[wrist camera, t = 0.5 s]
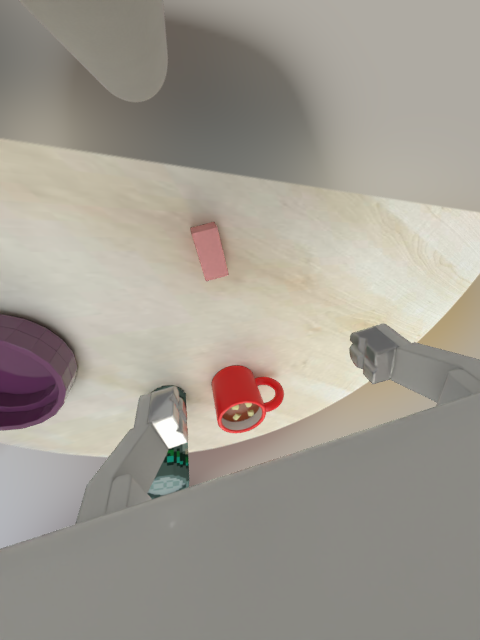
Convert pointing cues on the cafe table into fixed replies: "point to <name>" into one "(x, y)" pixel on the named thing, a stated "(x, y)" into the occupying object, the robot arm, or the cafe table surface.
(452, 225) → the cafe table surface
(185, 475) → the can
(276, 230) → the cafe table surface
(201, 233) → the eraser
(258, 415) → the mug
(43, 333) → the bowl
